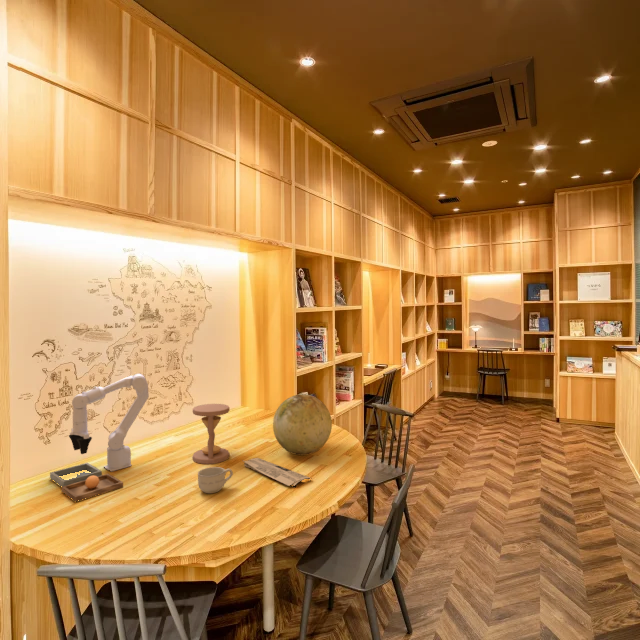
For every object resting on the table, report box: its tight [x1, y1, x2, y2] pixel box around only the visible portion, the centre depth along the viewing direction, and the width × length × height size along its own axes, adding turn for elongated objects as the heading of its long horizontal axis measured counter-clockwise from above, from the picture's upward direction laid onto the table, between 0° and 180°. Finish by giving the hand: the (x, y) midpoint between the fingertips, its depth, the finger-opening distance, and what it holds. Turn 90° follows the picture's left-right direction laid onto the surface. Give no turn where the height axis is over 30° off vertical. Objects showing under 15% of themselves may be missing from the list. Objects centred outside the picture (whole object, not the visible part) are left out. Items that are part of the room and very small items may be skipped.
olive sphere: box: [272, 393, 333, 456], centre depth 212 cm, size 30×30×30 cm
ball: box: [85, 475, 99, 489], centre depth 169 cm, size 5×5×5 cm
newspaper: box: [242, 457, 313, 487], centre depth 186 cm, size 35×12×4 cm, turn 48°
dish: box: [49, 462, 103, 487], centre depth 179 cm, size 15×15×3 cm
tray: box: [61, 473, 124, 502], centre depth 169 cm, size 18×14×2 cm
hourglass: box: [192, 403, 230, 465], centre depth 205 cm, size 18×18×25 cm
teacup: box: [197, 466, 234, 494], centre depth 169 cm, size 14×11×8 cm
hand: (80, 451), depth 186 cm, fingers open, 7 cm apart
